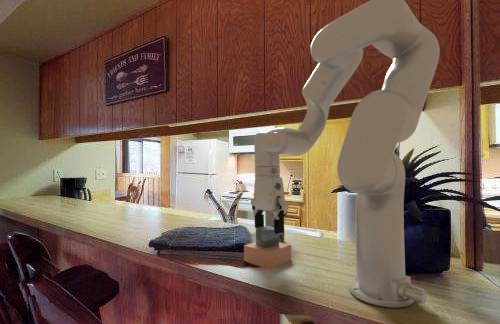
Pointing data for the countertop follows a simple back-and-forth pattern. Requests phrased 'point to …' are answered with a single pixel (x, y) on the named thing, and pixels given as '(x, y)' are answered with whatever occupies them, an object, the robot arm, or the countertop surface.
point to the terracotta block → (267, 255)
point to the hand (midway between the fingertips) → (268, 230)
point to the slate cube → (266, 237)
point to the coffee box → (272, 223)
